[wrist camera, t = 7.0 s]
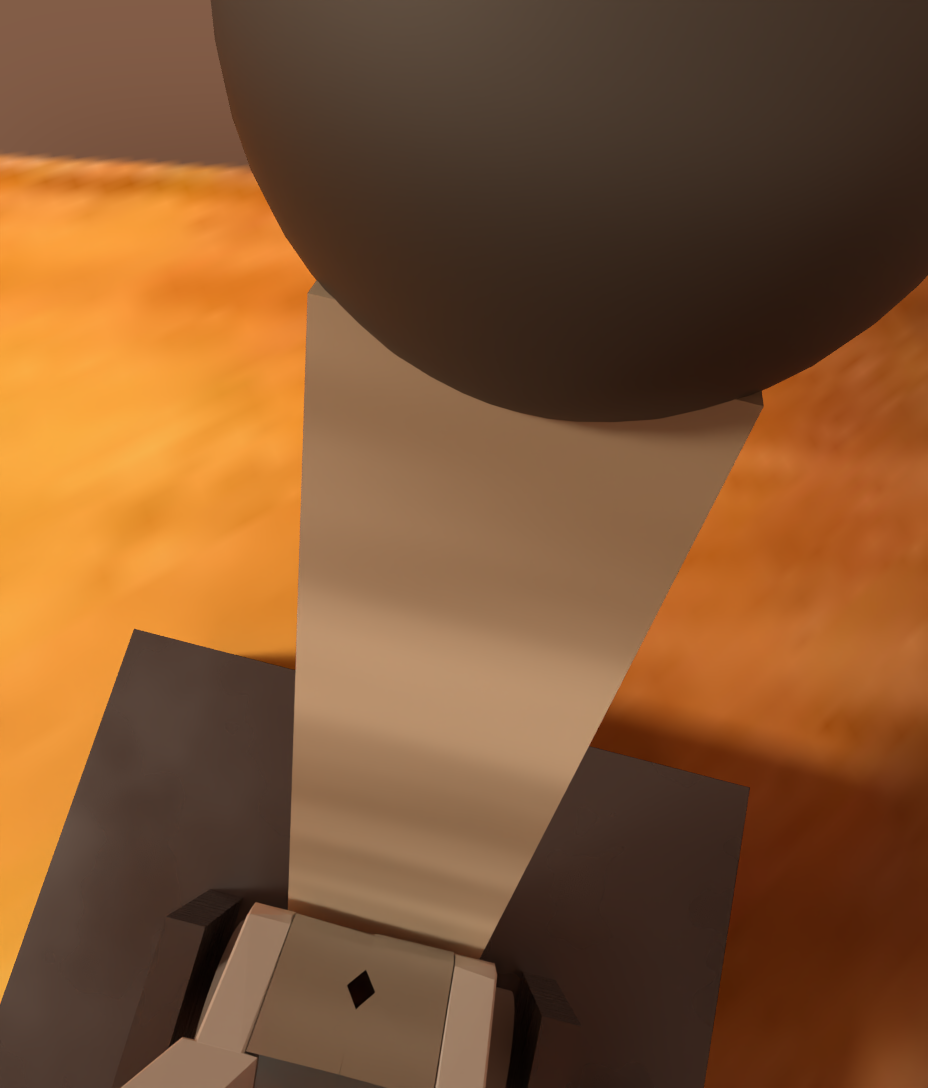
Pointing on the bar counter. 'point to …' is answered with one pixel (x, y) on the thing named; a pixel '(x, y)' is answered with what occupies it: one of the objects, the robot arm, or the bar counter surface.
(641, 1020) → the base
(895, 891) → the bar counter surface
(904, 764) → the bar counter surface
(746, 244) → the lever
